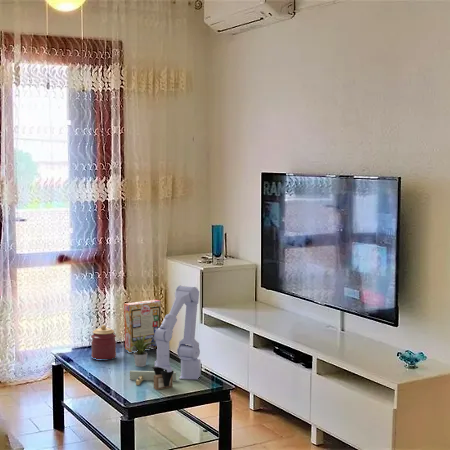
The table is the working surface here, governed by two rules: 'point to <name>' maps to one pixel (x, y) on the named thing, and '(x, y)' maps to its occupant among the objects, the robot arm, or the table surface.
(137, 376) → the ledge
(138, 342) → the house plant
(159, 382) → the frame
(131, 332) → the board game box
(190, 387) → the table surface
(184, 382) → the table surface
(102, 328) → the canister
